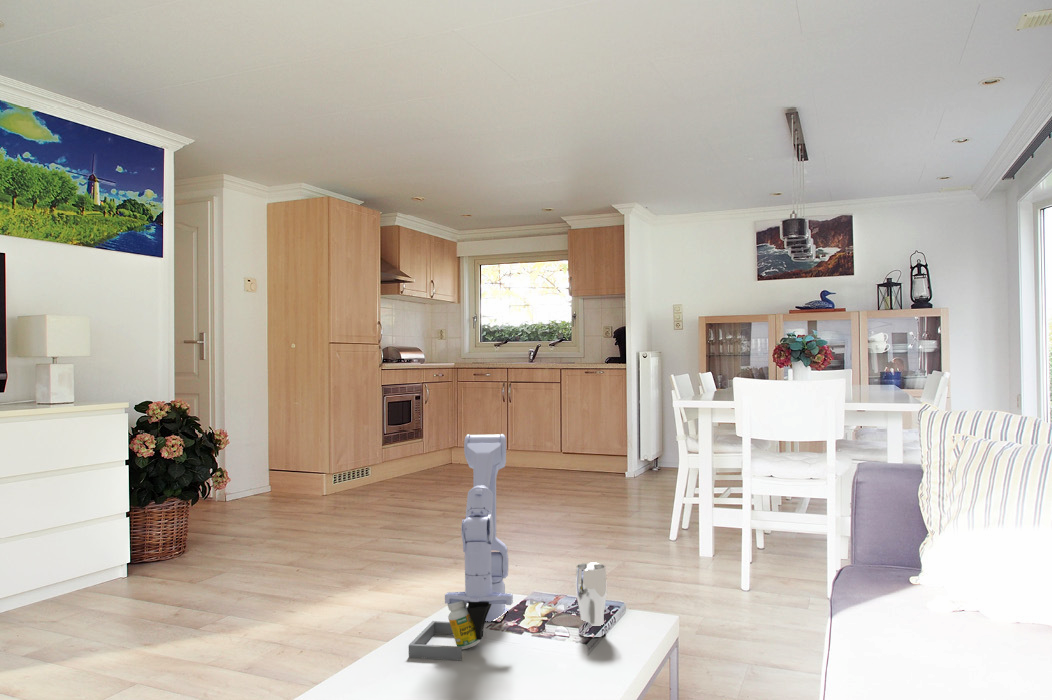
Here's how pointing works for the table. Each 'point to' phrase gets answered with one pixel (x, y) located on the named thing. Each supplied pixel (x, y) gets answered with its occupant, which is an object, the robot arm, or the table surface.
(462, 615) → the supplement bottle
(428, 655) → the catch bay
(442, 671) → the table surface
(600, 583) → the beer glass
